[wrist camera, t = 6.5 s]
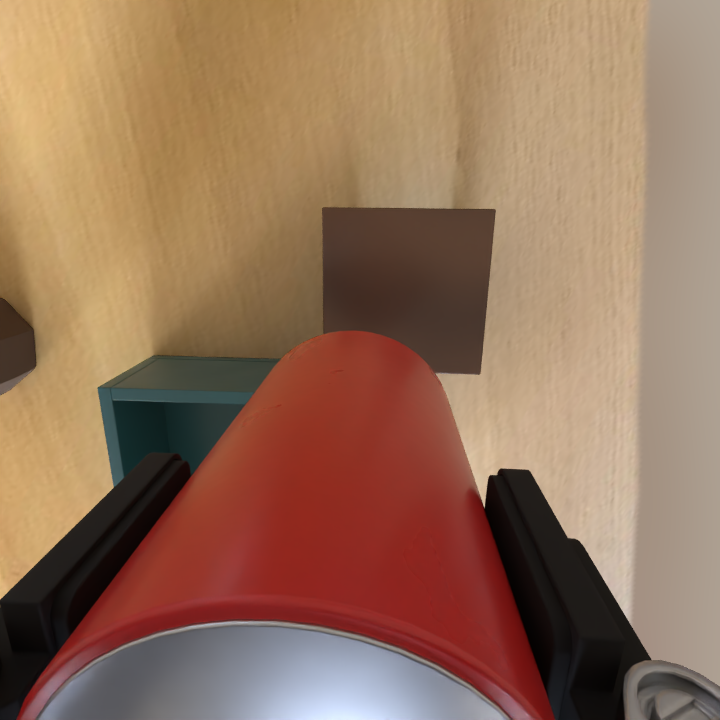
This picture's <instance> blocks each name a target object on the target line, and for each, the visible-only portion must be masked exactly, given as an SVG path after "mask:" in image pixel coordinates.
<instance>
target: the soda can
mask: <svg viewBox="0 0 720 720" xmlns="http://www.w3.org/2000/svg"><path fill="white" fill-rule="evenodd" d="M16 720H555V717H554V714H553V711H552V708H551V705H550V702H549V699H548V696H547V693H546V690H545V687H544V684H543V682H542V679H541V676H540V673H539V670H538V667H537V664H536V661H535V658H534V655H533V652H532V649H531V646H530V643H529V640H528V637H527V634H526V631H525V628H524V625H523V622H522V619H521V616H520V613H519V610H518V607H517V604H516V601H515V598H514V595H513V592H512V589H511V586H510V583H509V580H508V577H507V574H506V571H505V568H504V566H503V563H502V560H501V557H500V554H499V551H498V548H497V545H496V542H495V539H494V536H493V533H492V530H491V527H490V524H489V521H488V518H487V515H486V512H485V509H484V506H483V503H482V500H481V497H480V494H479V491H478V488H477V485H476V482H475V479H474V476H473V473H472V470H471V467H470V464H469V461H468V458H467V455H466V452H465V450H464V447H463V444H462V441H461V438H460V435H459V432H458V429H457V426H456V423H455V420H454V417H453V414H452V411H451V408H450V405H449V402H448V399H447V396H446V393H445V391H444V389H443V386H442V384H441V382H440V380H439V379H438V377H437V376H436V374H435V372H434V371H433V370H432V369H431V367H430V366H429V365H428V364H427V363H426V362H425V361H424V360H423V359H422V358H421V357H420V356H419V355H418V354H417V353H415V352H414V351H413V350H411V349H410V348H408V347H407V346H405V345H403V344H401V343H400V342H398V341H396V340H394V339H391V338H388V337H386V336H383V335H380V334H375V333H371V332H364V331H338V332H332V333H327V334H323V335H320V336H316V337H314V338H312V339H309V340H307V341H305V342H303V343H301V344H300V345H298V346H297V347H295V348H293V349H292V350H291V351H290V352H288V353H287V354H286V355H285V356H284V357H283V358H282V359H281V360H280V361H279V362H278V363H277V364H276V365H275V366H274V368H273V369H272V370H271V372H270V373H269V374H268V376H267V377H266V378H265V380H264V381H263V382H262V384H261V385H260V386H259V388H258V389H257V390H256V391H255V393H254V394H253V395H252V397H251V398H250V399H249V401H248V402H247V403H246V405H245V406H244V407H243V409H242V410H241V411H240V413H239V414H238V415H237V417H236V418H235V419H234V420H233V422H232V423H231V424H230V426H229V427H228V428H227V430H226V431H225V432H224V434H223V435H222V436H221V438H220V439H219V440H218V442H217V443H216V444H215V446H214V447H213V448H212V450H211V451H210V452H209V453H208V455H207V456H206V457H205V459H204V460H203V461H202V463H201V464H200V465H199V467H198V468H197V469H196V471H195V472H194V473H193V475H192V476H191V477H190V479H189V480H188V481H187V482H186V484H185V485H184V486H183V488H182V489H181V490H180V492H179V493H178V494H177V496H176V497H175V498H174V500H173V501H172V502H171V504H170V505H169V506H168V508H167V509H166V510H165V511H164V513H163V514H162V515H161V517H160V518H159V519H158V521H157V522H156V523H155V525H154V526H153V527H152V529H151V530H150V531H149V533H148V534H147V535H146V537H145V538H144V539H143V541H142V542H141V543H140V544H139V546H138V547H137V548H136V550H135V551H134V552H133V554H132V555H131V556H130V558H129V559H128V560H127V562H126V563H125V564H124V566H123V567H122V568H121V570H120V571H119V572H118V573H117V575H116V576H115V577H114V579H113V580H112V581H111V583H110V584H109V585H108V587H107V588H106V589H105V591H104V592H103V593H102V595H101V596H100V597H99V599H98V600H97V601H96V603H95V604H94V605H93V606H92V608H91V609H90V610H89V612H88V613H87V614H86V616H85V617H84V618H83V620H82V621H81V622H80V624H79V625H78V626H77V628H76V629H75V630H74V632H73V633H72V634H71V635H70V637H69V638H68V639H67V641H66V642H65V643H64V645H63V646H62V647H61V649H60V650H59V651H58V653H57V654H56V655H55V657H54V658H53V659H52V661H51V662H50V663H49V664H48V666H47V667H46V668H45V670H44V671H43V672H42V674H41V675H40V676H39V678H38V679H37V681H36V683H35V684H34V686H33V687H32V689H31V690H30V692H29V693H28V695H27V696H26V698H25V699H24V702H23V704H22V707H21V709H20V712H19V714H18V717H17V719H16Z"/></svg>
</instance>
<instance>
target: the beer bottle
mask: <svg viewBox="0 0 720 720" xmlns="http://www.w3.org/2000/svg"><path fill="white" fill-rule="evenodd" d="M35 367H36V358H35V345H34V332H33V329H32V328H31V327H30V326H29V325H28V324H27V323H26V322H25V321H24V319H23V318H22V317H21V316H20V315H19V314H18V313H17V312H16V311H15V310H14V309H13V308H12V307H11V306H10V305H9V304H8V303H7V302H6V300H4V299H2V298H0V395H2V394H4V393H6V392H7V391H9V390H11V389H12V388H13V387H14V386H15V385H16V384H17V383H19V382H20V381H21V380H22V379H23V378H24V377H25V376H27V375H28V374H29V373H30V372H31V371H32V370H33V369H35Z"/></svg>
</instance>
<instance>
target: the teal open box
mask: <svg viewBox="0 0 720 720" xmlns="http://www.w3.org/2000/svg"><path fill="white" fill-rule="evenodd" d="M280 360H281V359H264V358H229V357H194V356H159V355H153V356H152V357H150V358H148V359H146V360H145V361H143V362H141V363H139V364H138V365H136V366H134V367H132V368H131V369H129V370H127V371H126V372H124V373H122V374H120V375H119V376H117V377H115V378H113V379H112V380H110V381H108V382H106V383H105V384H103V385H101V386H100V387H98V393H99V399H100V405H101V412H102V418H103V424H104V430H105V436H106V442H107V448H108V455H109V461H110V467H111V473H112V479H113V485H114V487H115V486H116V485H117V484H118V483H119V482H120V481H121V480H122V479H123V478H124V477H125V476H126V475H127V474H128V473H129V472H130V471H131V470H132V469H133V468H134V467H136V466H137V465H138V464H139V463H140V462H141V461H142V460H143V459H144V458H145V457H146V456H147V455H148V454H149V453H175V454H179V455H180V456H181V458H182V461H187V462H188V463H189V465H190V471H191V476H192V475H193V473H194V472H195V471H196V469H197V468H198V467H199V465H200V464H201V463H202V461H203V460H204V459H205V457H206V456H207V455H208V453H209V452H210V451H211V450H212V448H213V447H214V446H215V444H216V443H217V442H218V440H219V439H220V438H221V436H222V435H223V434H224V432H225V431H226V430H227V428H228V427H229V426H230V424H231V423H232V422H233V420H234V419H235V418H236V417H237V415H238V414H239V413H240V411H241V410H242V409H243V407H244V406H245V405H246V403H247V402H248V401H249V399H250V398H251V397H252V395H253V394H254V393H255V391H256V390H257V389H258V388H259V386H260V385H261V384H262V382H263V381H264V380H265V378H266V377H267V376H268V374H269V373H270V372H271V370H272V369H273V368H274V366H275V365H276V364H277V363H278V362H279V361H280Z"/></svg>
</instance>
